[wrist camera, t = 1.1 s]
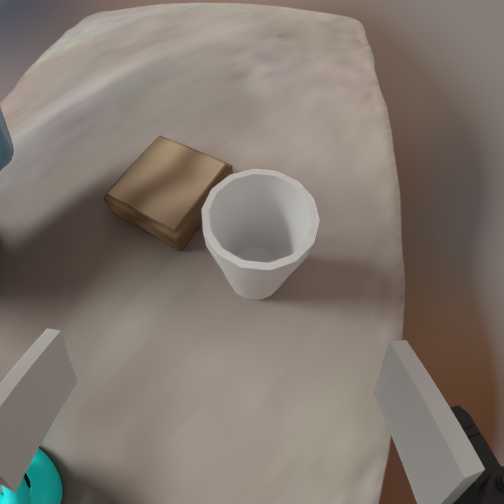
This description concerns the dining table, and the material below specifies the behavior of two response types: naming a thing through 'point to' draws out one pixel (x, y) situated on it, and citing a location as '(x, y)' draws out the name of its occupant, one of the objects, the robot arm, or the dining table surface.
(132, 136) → the dining table surface
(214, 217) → the foam cup
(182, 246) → the pedestal
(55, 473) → the donuts
